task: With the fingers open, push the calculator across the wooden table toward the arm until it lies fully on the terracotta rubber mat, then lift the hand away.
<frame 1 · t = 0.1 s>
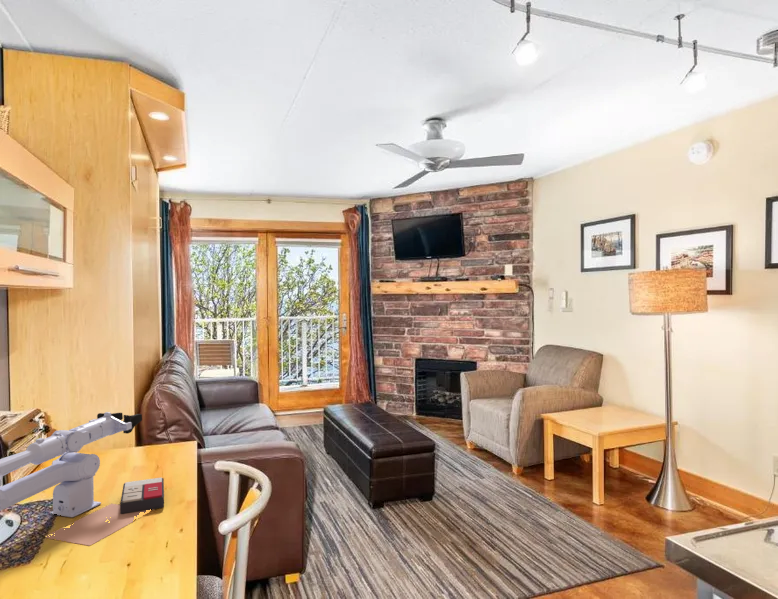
hand: (131, 416, 160), 22 cm above the table, tool horizontal, fingers open, 7 cm apart
calculator: (143, 501, 146), on the table, touching mat
mat: (101, 522, 133), on the table
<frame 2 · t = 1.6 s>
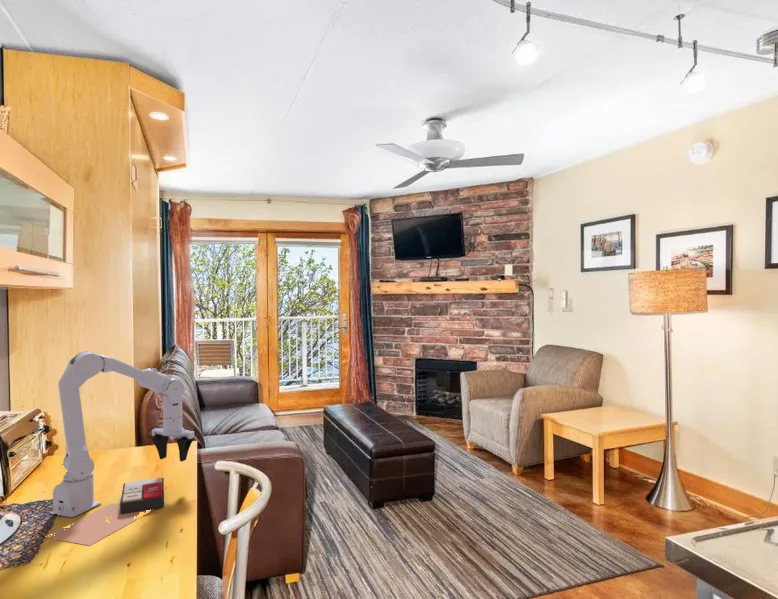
hand: (173, 459, 158), 8 cm above the table, tool pointing down, fingers open, 7 cm apart
nothing on the table moved.
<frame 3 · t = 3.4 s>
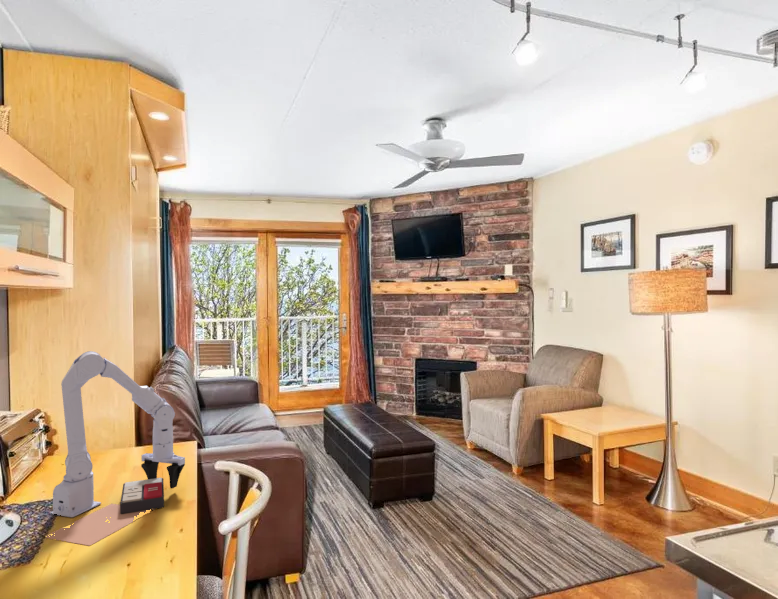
hand: (163, 485, 154), 2 cm above the table, tool pointing down, fingers open, 7 cm apart
calculator: (143, 502, 146), on the table, touching gripper
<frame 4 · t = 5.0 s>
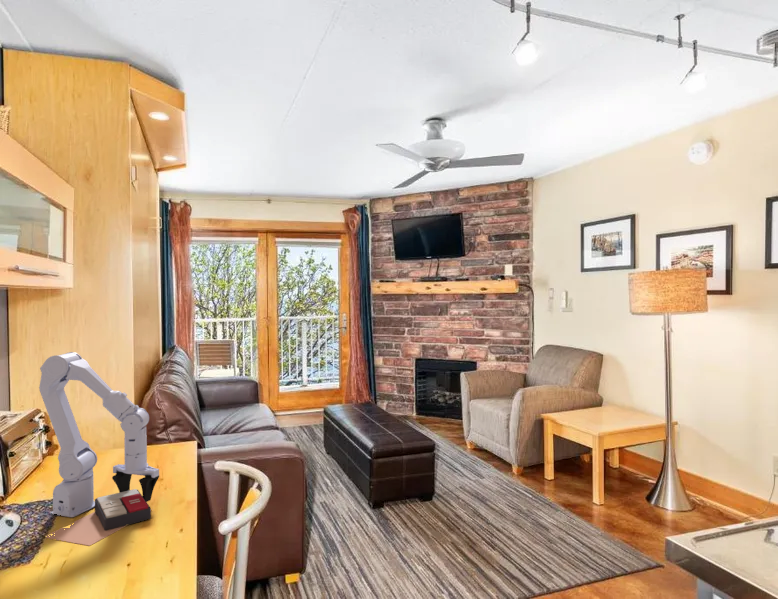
hand: (136, 499, 144), 2 cm above the table, tool pointing down, fingers open, 7 cm apart
calculator: (122, 516, 137), resting on mat, touching gripper
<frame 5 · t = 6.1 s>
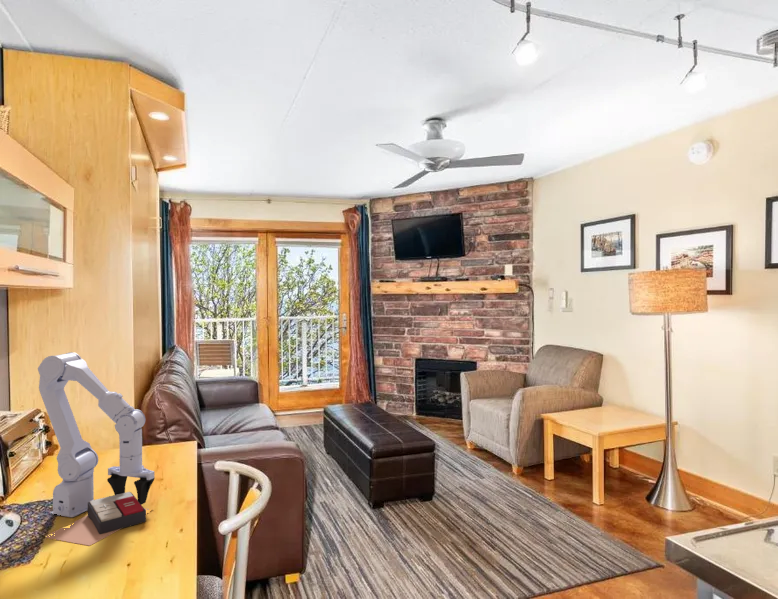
hand: (131, 502, 142), 2 cm above the table, tool pointing down, fingers open, 7 cm apart
calculator: (116, 519, 135), resting on mat
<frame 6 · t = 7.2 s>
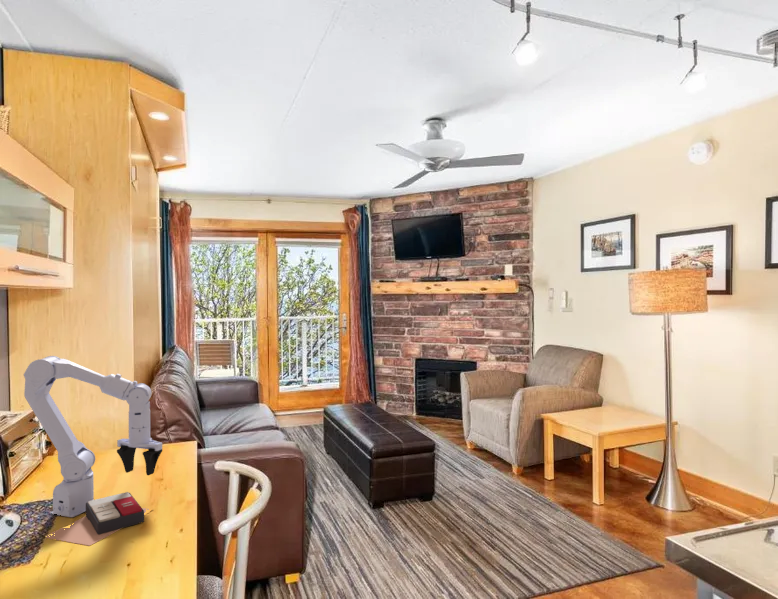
hand: (139, 472, 146), 8 cm above the table, tool pointing down, fingers open, 7 cm apart
nothing on the table moved.
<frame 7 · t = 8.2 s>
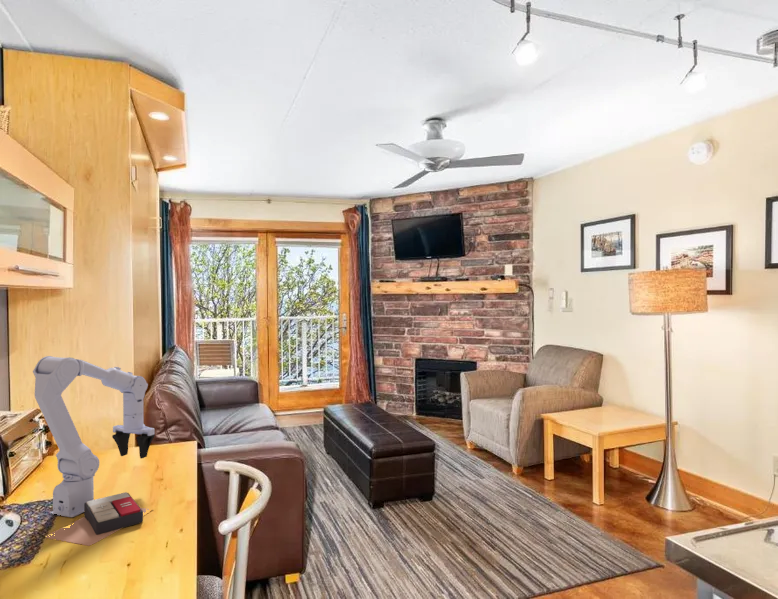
hand: (133, 456, 158), 9 cm above the table, tool pointing down, fingers open, 7 cm apart
nothing on the table moved.
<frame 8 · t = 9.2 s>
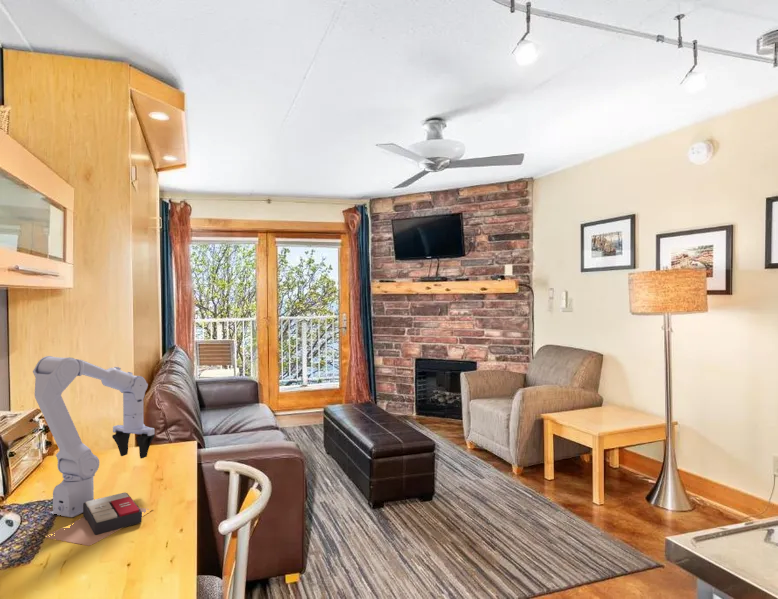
hand: (133, 456, 158), 9 cm above the table, tool pointing down, fingers open, 7 cm apart
at the end: calculator inside the target area (2.3 cm from its centre), resting on mat; calculator moved 12.2 cm from its start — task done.
